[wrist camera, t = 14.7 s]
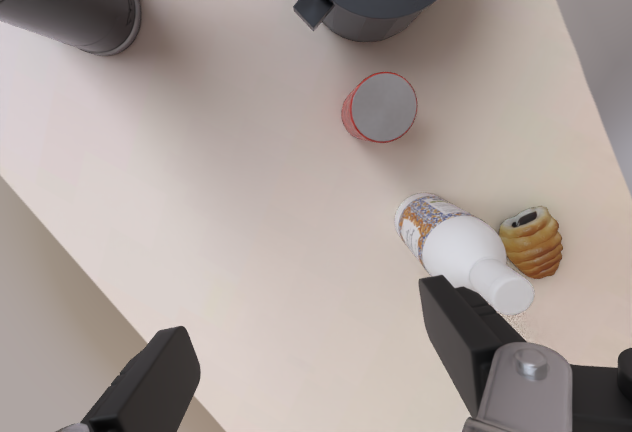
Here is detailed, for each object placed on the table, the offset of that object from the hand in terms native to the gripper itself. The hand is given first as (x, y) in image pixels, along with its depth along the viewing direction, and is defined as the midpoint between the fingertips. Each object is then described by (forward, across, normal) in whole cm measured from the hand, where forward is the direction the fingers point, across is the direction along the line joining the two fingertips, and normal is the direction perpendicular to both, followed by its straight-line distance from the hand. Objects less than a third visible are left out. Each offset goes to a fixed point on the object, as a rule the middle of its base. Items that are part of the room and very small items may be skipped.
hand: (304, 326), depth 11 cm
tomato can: (+30, -8, -7) cm, 32 cm away
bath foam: (+30, -12, +8) cm, 34 cm away
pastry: (+30, -26, +13) cm, 42 cm away
